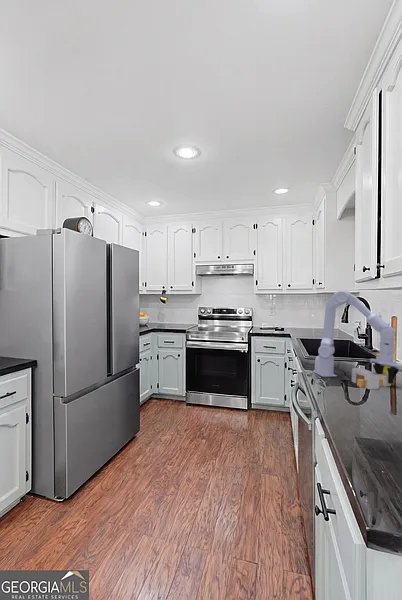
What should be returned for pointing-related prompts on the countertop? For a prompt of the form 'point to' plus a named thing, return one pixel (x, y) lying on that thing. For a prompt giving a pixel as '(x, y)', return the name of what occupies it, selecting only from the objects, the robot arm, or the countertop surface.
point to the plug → (382, 381)
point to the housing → (366, 378)
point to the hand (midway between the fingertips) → (385, 381)
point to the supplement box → (384, 366)
